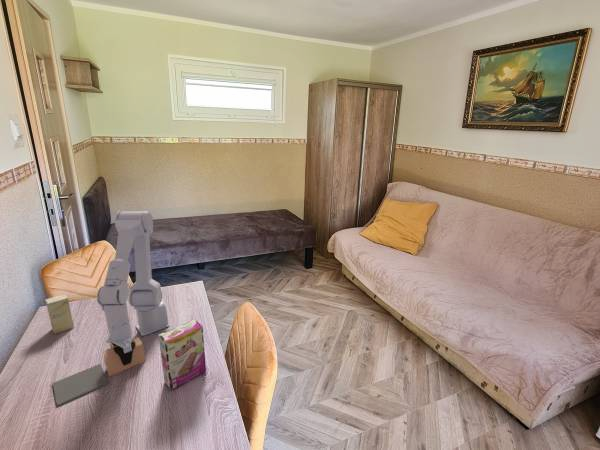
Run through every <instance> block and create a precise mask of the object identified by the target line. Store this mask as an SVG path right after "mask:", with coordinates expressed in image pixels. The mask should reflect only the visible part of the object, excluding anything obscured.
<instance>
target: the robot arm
mask: <svg viewBox="0 0 600 450" xmlns="http://www.w3.org/2000/svg"><path fill="white" fill-rule="evenodd" d="M114 226H115V229H116V231H117V233H118V234H117V241H116V249H115V255H114V258H113V259H112V260H111V261H109V263H108V267H107V271H106V275H105V278H104V283H103V285H102V286H100V287H99V288H98V290H97V295H96V296H97V299H96V302H97V304H98V305H99V306H100V308H101V310H102V311H103V312H104V316H105V321H106V325H107V329H108V337H105V338H104V340H105V343H106V344H108V343H109V344H110V342H111V343H112V344H113V345H114V348H113V349H114V351H115V353H116V354H118V355H119V357H120V359H121V361H122V363H123V365H124V366H125V365H127V364H130V363H131V361H132V353H133V350H134V348H135V345H136V344H135V342H134V341H133V342H131V340H132V337H133V331H132V329H131V323H130V317H129V313H128V311H129V310H128V306H127V301H128V304H129V305H130V307H133V309H134V310H135V311H136V317H137V323H138V324H136V325H135V328H136V329H137V331H138V332H139V334H140V335H141V336H142V337H145V336H147V335H149V334H153V333H155V332H158V331H160V330H162V329H165V328H167V327H169V326H170V324H169V320H168V311H167V307H166V304H165V303H164V300H163V291H162V288H161V283H159V282H158V281H157V280H155V279H153V275H152V262H151V261H152V260H151V259H152V258H151V245H150V244H151V243H150V242H151V240H150V235H151V234H153V233H154V219H153V215H152V214H151V212H150V211H149V210H145V211H142V210H141V211H140V210H139V211H136V210H135V211H133V210H132V211H129V210H128V211H124V210H119V211H117V213H116V214H115V216H114ZM132 248H133V250H134V266H135V268H134V269H135V282H134V283H132V284H131V286H130V287H129V283H128V280H129V274H130V271H131V266H132V265H131V263H130V261H129V258H130V254H131V252H132ZM117 345H118V346H117ZM115 346H117V347H115Z"/></svg>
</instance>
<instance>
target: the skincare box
mask: <svg viewBox="0 0 600 450" xmlns="http://www.w3.org/2000/svg"><path fill="white" fill-rule="evenodd" d="M45 304H46V308H47V312H48V316H49V320H50V321H49V322H50V326H51V329H52V333H53V334H54V335H55V334H57V333H61V332H64V331H67V330H70V329H73V328H75V325H74V319H73V315H72V310H71V307H70V301H69V298H68V295H67V293H64V294H59V295H56V296H53V297H49V298H45Z"/></svg>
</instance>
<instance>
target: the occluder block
mask: <svg viewBox="0 0 600 450" xmlns="http://www.w3.org/2000/svg"><path fill="white" fill-rule="evenodd" d="M133 341H134V342H135V344H136V345H135V348H134V350H133V353H132V361H131V363H130V364H127V365H125V366H124V365H123V363H122V361H121V359H120V357H119V355H118V354H116V353H115V351H114V349H113V348H114V347H112V348H111V347H109V348H107V349H105V350H103V351H102V353H103V358H104V363H105V367H106V368H105V369H106V371H107V373H108V376H109V377H111V376H114V375H116V374H118V373H120V372H124V371H125V370H127V369H130V368H132V367H134V366H137V365H139V364H141V363H143V362H145V361H146V358H145V352H144V351H145V350H144V345H143V342H142V341H141V339H140V337H139V336H138V337H136V338H133V339H131V342H133ZM117 346H118V345H117ZM117 346H115V347H117Z"/></svg>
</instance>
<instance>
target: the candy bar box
mask: <svg viewBox="0 0 600 450" xmlns="http://www.w3.org/2000/svg"><path fill="white" fill-rule="evenodd" d="M203 327H204V326H203V325H202V324H201V323H199V322H198V321H197V320H196V319H193V320H191V321H188V322H186V323H184V324H182V325H181V324H180V325H179V326H177V327H173V328H171V329H169V330H166V331H164V332H162V333H159V334H158V341H159V343H158V344H159V348H160V349H159V351H160V357H161V365H162V367H161V368H162V373H163V380H164V383H165V384H166V386H167V387H168V388H169V390H170V392H171V391H174V390H175V389H177V388H179V387H180V386H183V385H184V384H185V383H188V382H190V381H191V380H193V379H195V378H197V377H198V376H200V375H202V374H204V373H206V372H207V368H206V367H207V365H206V355H205V341H204V340H205V339H204V328H203Z"/></svg>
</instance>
